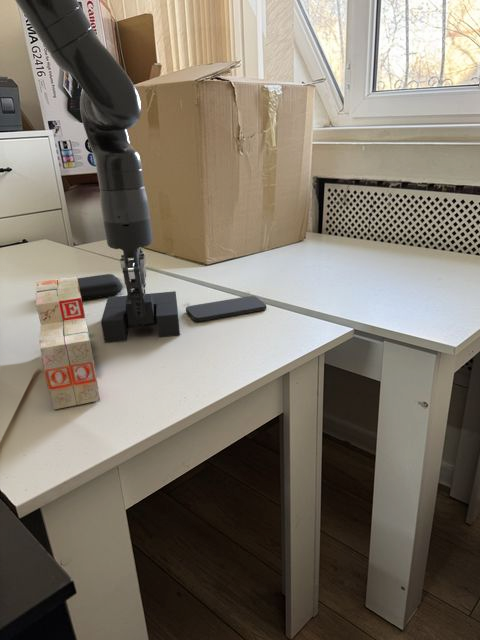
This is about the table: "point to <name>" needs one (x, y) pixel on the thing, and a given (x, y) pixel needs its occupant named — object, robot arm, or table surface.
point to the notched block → (118, 324)
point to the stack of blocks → (65, 343)
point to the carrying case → (99, 286)
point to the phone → (225, 308)
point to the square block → (149, 311)
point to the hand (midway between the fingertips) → (140, 313)
